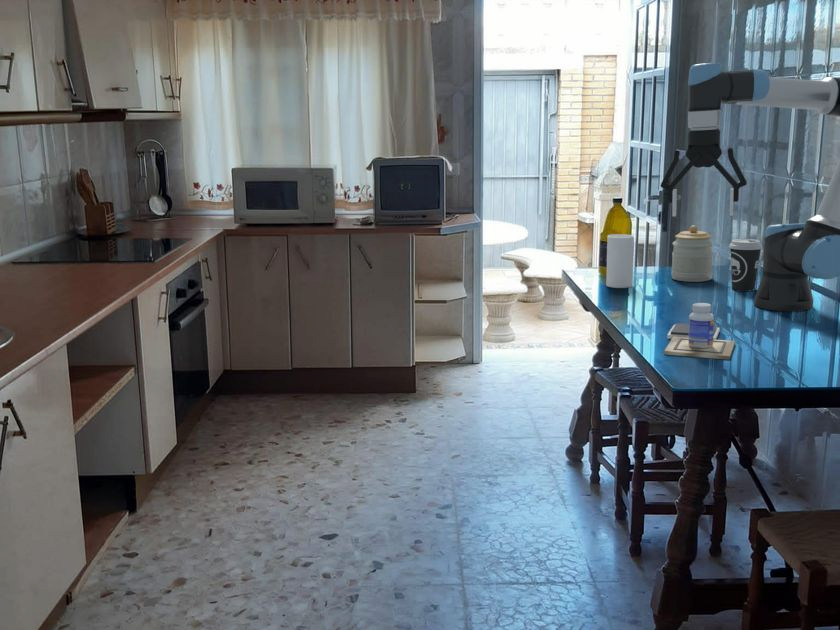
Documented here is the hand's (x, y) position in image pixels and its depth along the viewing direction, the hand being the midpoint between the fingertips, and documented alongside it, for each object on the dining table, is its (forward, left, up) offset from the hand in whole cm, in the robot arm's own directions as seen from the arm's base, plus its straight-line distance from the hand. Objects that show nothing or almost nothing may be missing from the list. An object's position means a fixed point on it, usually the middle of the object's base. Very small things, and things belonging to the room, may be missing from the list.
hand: (702, 215), depth 215 cm
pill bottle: (-3, +25, -27) cm, 37 cm away
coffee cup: (-7, -51, -28) cm, 59 cm away
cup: (+30, -47, -28) cm, 62 cm away
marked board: (-3, +25, -28) cm, 38 cm away
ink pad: (0, +12, -28) cm, 30 cm away
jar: (+10, -65, -28) cm, 72 cm away
